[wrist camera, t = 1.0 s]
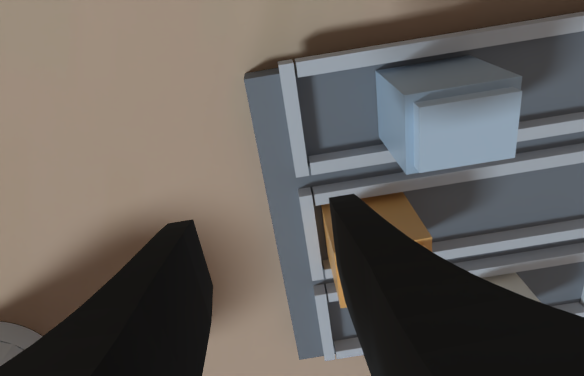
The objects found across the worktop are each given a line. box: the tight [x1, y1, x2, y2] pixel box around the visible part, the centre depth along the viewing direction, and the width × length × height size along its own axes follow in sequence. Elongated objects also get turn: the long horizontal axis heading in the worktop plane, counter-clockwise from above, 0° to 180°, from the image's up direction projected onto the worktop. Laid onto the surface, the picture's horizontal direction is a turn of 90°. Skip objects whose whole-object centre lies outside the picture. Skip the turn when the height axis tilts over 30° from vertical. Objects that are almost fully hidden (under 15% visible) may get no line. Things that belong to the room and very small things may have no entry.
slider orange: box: [321, 192, 432, 308], centre depth 19 cm, size 3×4×5 cm
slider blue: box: [375, 55, 522, 175], centre depth 16 cm, size 3×4×5 cm
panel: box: [244, 12, 584, 361], centre depth 21 cm, size 18×19×2 cm
